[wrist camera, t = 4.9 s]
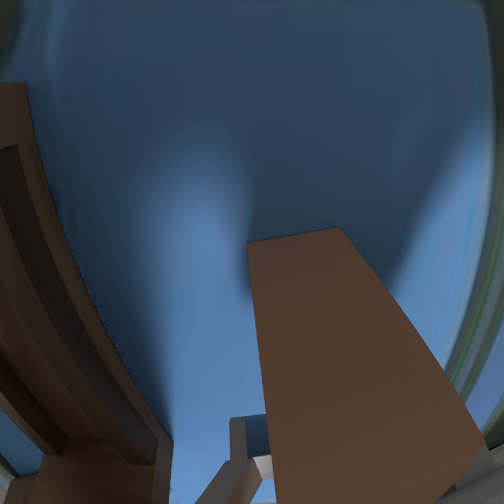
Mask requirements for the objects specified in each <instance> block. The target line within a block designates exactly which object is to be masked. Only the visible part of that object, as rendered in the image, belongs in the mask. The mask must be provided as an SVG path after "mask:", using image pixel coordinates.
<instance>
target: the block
mask: <svg viewBox="0 0 504 504" xmlns="http://www.w3.org/2000/svg"><path fill="white" fill-rule="evenodd" d="M37 475H38V473H35V474H32V475H28V476H24V477H19V478H15V479H13V480H12V481H11V482H10V485H9V488H8V491H7V495H6V498H5V501H4V504H29V502H30V498H31V495H32V491H33V488H34V485H35V481H36V478H37Z"/></svg>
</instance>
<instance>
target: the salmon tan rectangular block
mask: <svg viewBox="0 0 504 504" xmlns="http://www.w3.org/2000/svg"><path fill="white" fill-rule="evenodd" d="M246 245H247V253H248V262H249V271H250V280H251V289H252V297H253V306H254V315H255V324H256V332H257V341H258V349H259V358H260V367H261V375H262V384H263V392H264V401H265V409H266V418H267V426H268V434H269V443H270V451H271V459H272V468H273V476H274V484H275V492H276V501H277V504H434V503H435V502H436V501H437V500H438V499H439V498H440V497H441V496H442V495H443V494H444V493H445V492H446V491H447V490H448V489H449V488H450V487H451V486H452V484H453V483H454V482H455V481H456V480H457V479H458V478H459V477H460V475H461V474H462V473H463V472H464V471H465V470H466V468H467V467H468V466H469V465H470V464H471V462H472V461H473V460H474V459H475V457H476V456H477V455H478V454H479V452H480V451H481V450H482V448H483V447H484V446H485V444H486V441H485V439H484V438H483V436H482V434H481V432H480V430H479V429H478V427H477V425H476V423H475V422H474V420H473V418H472V416H471V415H470V413H469V411H468V410H467V408H466V406H465V405H464V403H463V401H462V400H461V398H460V396H459V395H458V393H457V391H456V390H455V388H454V387H453V385H452V383H451V382H450V380H449V379H448V377H447V375H446V374H445V372H444V371H443V369H442V368H441V366H440V365H439V363H438V361H437V360H436V358H435V357H434V355H433V354H432V352H431V351H430V349H429V348H428V346H427V345H426V343H425V342H424V340H423V339H422V337H421V336H420V335H419V333H418V332H417V330H416V329H415V327H414V326H413V324H412V323H411V322H410V320H409V319H408V317H407V316H406V315H405V313H404V312H403V310H402V309H401V308H400V306H399V305H398V303H397V302H396V301H395V299H394V298H393V296H392V295H391V294H390V292H389V291H388V290H387V288H386V287H385V286H384V284H383V283H382V282H381V280H380V279H379V278H378V276H377V275H376V274H375V272H374V271H373V270H372V268H371V267H370V266H369V265H368V263H367V262H366V261H365V259H364V258H363V257H362V255H361V254H360V253H359V252H358V250H357V249H356V248H355V247H354V245H353V244H352V243H351V242H350V240H349V239H348V238H347V237H346V235H345V234H344V233H343V232H342V230H341V229H340V228H339V227H337V228H331V229H325V230H320V231H314V232H308V233H303V234H297V235H291V236H285V237H280V238H274V239H269V240H263V241H257V242H252V243H246Z"/></svg>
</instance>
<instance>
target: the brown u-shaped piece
mask: <svg viewBox="0 0 504 504" xmlns="http://www.w3.org/2000/svg"><path fill="white" fill-rule="evenodd" d="M0 407H1V408H2V410H3V411H4V412H5V413H6V414H7V415H8V416H9V418H10V419H11V420H12V421H13V422H14V423H15V424H16V425H17V426H18V427H19V428H20V430H21V431H22V432H23V433H24V434H25V435H26V436H27V437H28V438H29V439H30V440H31V441H32V442H33V443H34V444H35V445H36V446H37V447H38V448H39V449H40V450H41V451H42V452H43V453H45V454H44V457H43V460H42V463H41V466H40V469H39V472H38V475H37V478H36V481H35V485H34V488H33V491H32V495H31V498H30V502H29V504H169V491H170V479H171V468H172V458H173V448H174V443H173V442H172V441H171V439H170V438H169V436H168V435H167V433H166V432H165V431H164V429H163V428H162V426H161V425H160V423H159V422H158V420H157V419H156V417H155V416H154V414H153V412H152V411H151V409H150V408H149V406H148V405H147V403H146V401H145V400H144V398H143V397H142V395H141V393H140V392H139V390H138V388H137V387H136V385H135V383H134V382H133V380H132V378H131V377H130V375H129V373H128V371H127V370H126V368H125V366H124V364H123V362H122V361H121V359H120V357H119V355H118V353H117V352H116V350H115V348H114V346H113V344H112V342H111V340H110V338H109V336H108V334H107V332H106V330H105V328H104V326H103V324H102V322H101V320H100V318H99V316H98V314H97V312H96V310H95V308H94V306H93V303H92V301H91V299H90V297H89V295H88V292H87V290H86V288H85V286H84V283H83V281H82V279H81V276H80V274H79V272H78V269H77V267H76V264H75V262H74V259H73V257H72V254H71V252H70V249H69V246H68V244H67V241H66V238H65V236H64V233H63V230H62V227H61V224H60V222H59V219H58V216H57V213H56V210H55V207H54V203H53V200H52V197H51V194H50V191H49V187H48V184H47V180H46V177H45V173H44V170H43V166H42V162H41V158H40V154H39V150H38V146H37V142H36V138H35V133H34V129H33V124H32V119H31V114H30V108H29V103H28V97H27V91H26V84H25V83H0Z"/></svg>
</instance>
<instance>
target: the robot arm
mask: <svg viewBox="0 0 504 504" xmlns="http://www.w3.org/2000/svg"><path fill="white" fill-rule="evenodd" d="M229 430H230V460H228V461H225V463H224V464H223V466H222V467H221V468H220V470H219V471H218V473H217V474H216V475H215V477H214V478H213V480H212V481H211V482H210V484H209V485H208V486H207V488H206V489H205V491H204V492H203V493H202V495H201V496H200V497H199V499H198V500H197V501H196V503H195V504H250V502H251V501H252V499H253V497H254V495H255V493H256V491H257V490H258V488H259V486H260V484H261V482H262V480H263V479H269V478H274V476H273V468H272V459H271V451H270V443H269V434H268V426H267V418H266V414H260V415H252V416H243V417H235V418H230V422H229ZM434 504H504V444H502V445H500V446H498V447H496V448H494V449H492V450H490V451H489V450H488V448H487V446H486V444H485V446H484V447H483V448H482V450H481V451H480V452H479V454H478V455H477V456H476V457H475V459H474V460H473V461H472V462H471V464H470V465H469V466H468V467H467V468H466V470H465V471H464V472H463V473H462V474H461V475H460V477H459V478H458V479H457V480H456V481H455V482H454V483H453V484H452V486H451V487H450V488H449V489H448V490H447V491H446V492H445V493H444V494H443V495H442V496H441V497H440V498H439V499H438V500H437V501H436V502H435V503H434Z"/></svg>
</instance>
